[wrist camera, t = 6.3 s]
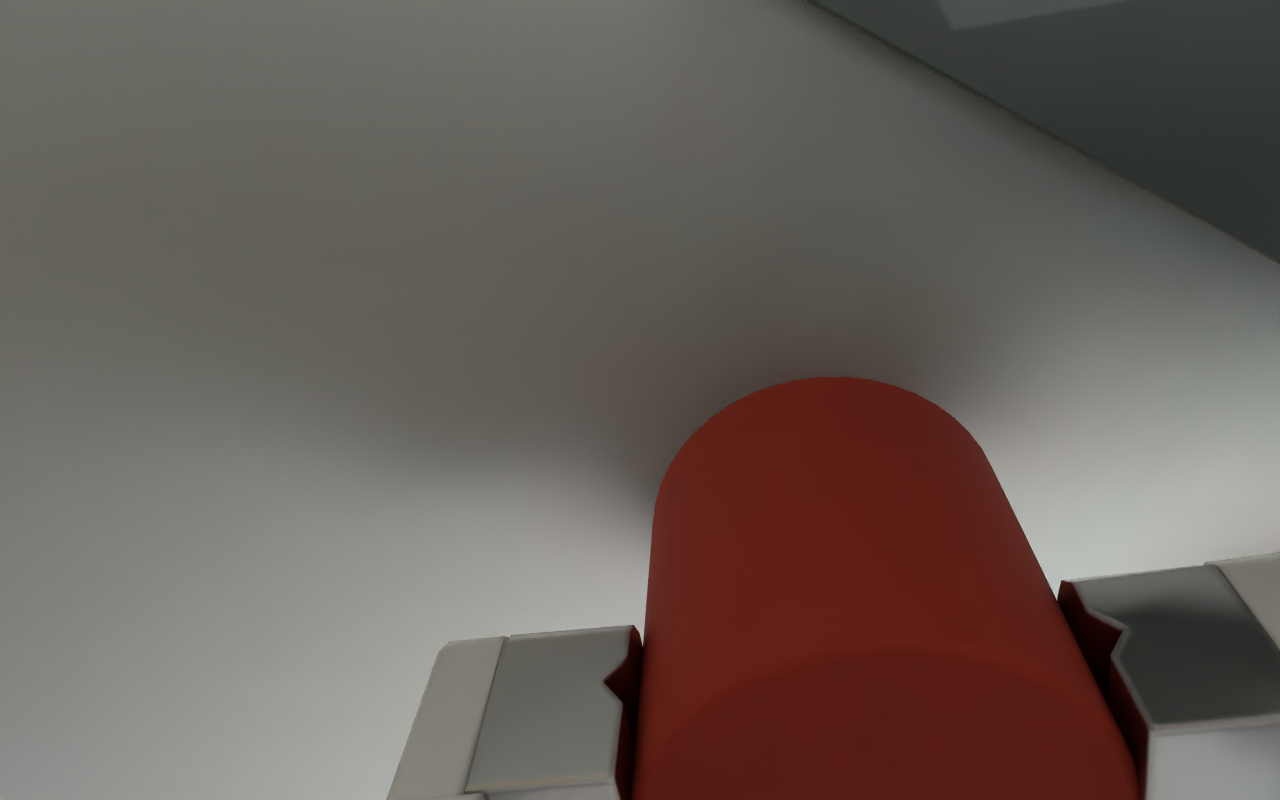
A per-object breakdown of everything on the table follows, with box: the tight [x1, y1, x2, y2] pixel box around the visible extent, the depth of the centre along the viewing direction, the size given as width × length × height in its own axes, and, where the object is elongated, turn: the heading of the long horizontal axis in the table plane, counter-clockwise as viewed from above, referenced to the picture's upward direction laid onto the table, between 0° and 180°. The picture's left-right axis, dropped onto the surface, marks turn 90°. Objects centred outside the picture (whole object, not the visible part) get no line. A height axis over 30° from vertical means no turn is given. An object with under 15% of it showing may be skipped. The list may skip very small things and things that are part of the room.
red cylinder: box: [631, 377, 1139, 800], centre depth 8 cm, size 3×3×4 cm
